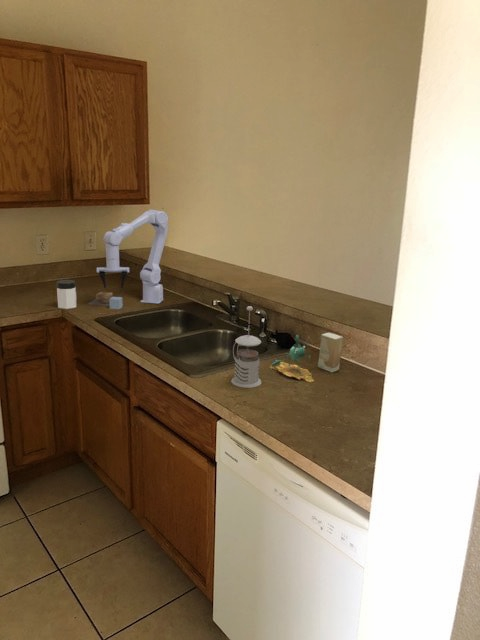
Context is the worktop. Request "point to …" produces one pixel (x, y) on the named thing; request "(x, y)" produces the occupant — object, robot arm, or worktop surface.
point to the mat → (98, 303)
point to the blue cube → (116, 303)
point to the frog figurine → (294, 370)
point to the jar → (66, 294)
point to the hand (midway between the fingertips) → (113, 287)
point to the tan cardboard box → (102, 301)
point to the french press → (246, 361)
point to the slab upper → (104, 295)
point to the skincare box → (330, 352)
